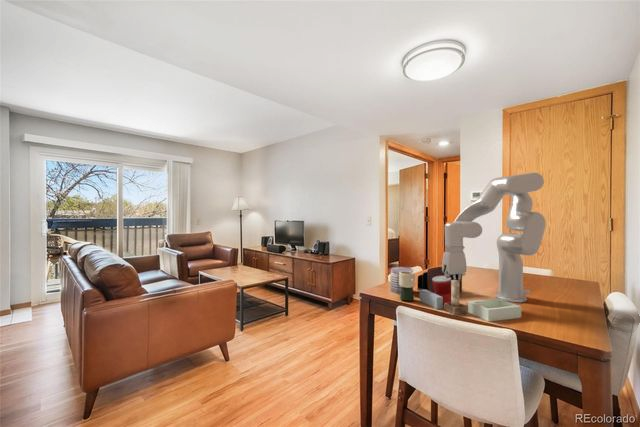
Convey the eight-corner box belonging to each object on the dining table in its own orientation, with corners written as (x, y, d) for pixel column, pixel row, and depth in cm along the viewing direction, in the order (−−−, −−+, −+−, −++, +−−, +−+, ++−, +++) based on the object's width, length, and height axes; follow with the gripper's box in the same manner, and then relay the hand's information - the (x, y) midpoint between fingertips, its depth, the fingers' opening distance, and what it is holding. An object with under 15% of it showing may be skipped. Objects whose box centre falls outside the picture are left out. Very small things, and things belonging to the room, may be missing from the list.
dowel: (455, 310, 116) (455, 279, 115) (460, 312, 113) (461, 281, 113) (449, 311, 115) (449, 280, 115) (454, 313, 112) (454, 281, 112)
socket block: (456, 308, 117) (456, 301, 117) (466, 313, 112) (466, 306, 112) (444, 310, 116) (444, 303, 116) (454, 315, 110) (454, 307, 110)
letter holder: (462, 293, 141) (462, 265, 141) (428, 295, 137) (428, 267, 137) (449, 287, 151) (449, 262, 151) (417, 289, 146) (417, 263, 146)
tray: (498, 308, 117) (498, 298, 117) (521, 317, 108) (521, 306, 108) (467, 312, 113) (468, 301, 113) (488, 321, 104) (488, 309, 104)
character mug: (420, 303, 124) (420, 274, 124) (406, 304, 123) (406, 275, 123) (407, 296, 135) (407, 269, 135) (394, 297, 133) (394, 270, 133)
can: (417, 294, 138) (417, 270, 138) (396, 295, 136) (397, 271, 136) (405, 288, 149) (405, 266, 149) (386, 289, 147) (386, 267, 147)
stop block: (425, 300, 129) (425, 289, 129) (442, 308, 117) (442, 297, 117) (419, 300, 128) (419, 289, 128) (436, 309, 117) (436, 297, 117)
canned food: (456, 304, 120) (453, 279, 120) (437, 305, 122) (434, 281, 121) (452, 297, 128) (448, 274, 127) (434, 299, 129) (430, 276, 129)
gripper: (461, 247, 131) (462, 285, 132) (434, 249, 128) (436, 288, 128) (474, 249, 124) (475, 289, 124) (446, 251, 120) (447, 293, 121)
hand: (455, 288), depth 126 cm, fingers closed
